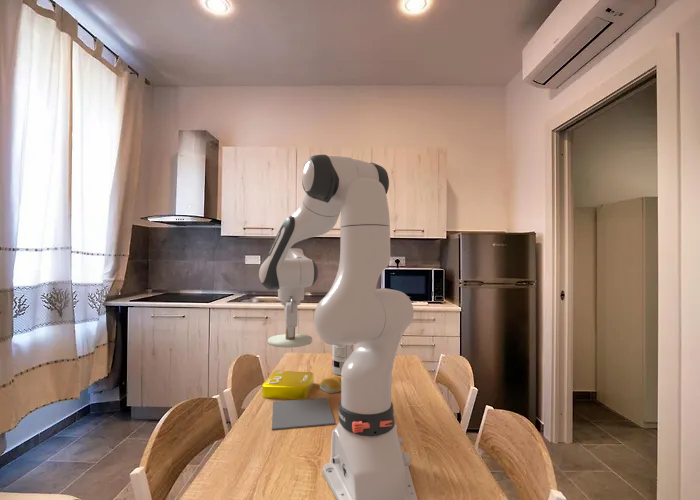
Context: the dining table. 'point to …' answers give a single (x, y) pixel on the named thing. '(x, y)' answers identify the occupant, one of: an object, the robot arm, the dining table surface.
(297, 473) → the dining table surface
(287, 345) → the lid
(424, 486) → the dining table surface
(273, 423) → the mat
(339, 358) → the supplement can
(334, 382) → the bread roll
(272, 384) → the element tile
